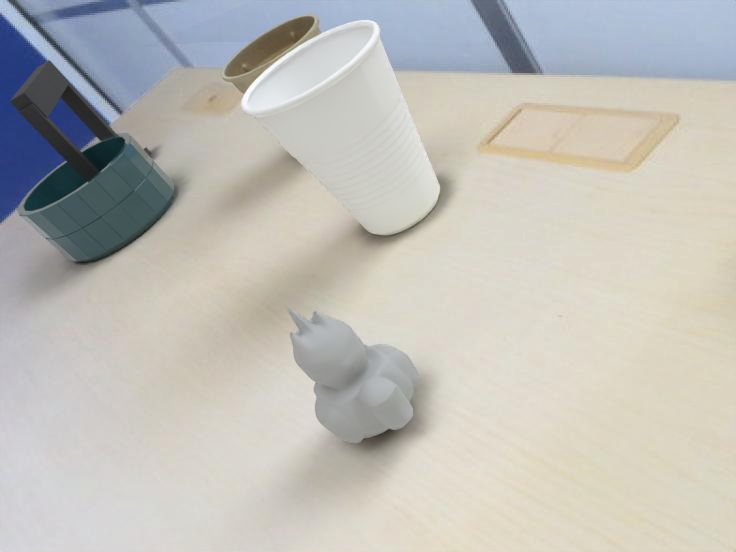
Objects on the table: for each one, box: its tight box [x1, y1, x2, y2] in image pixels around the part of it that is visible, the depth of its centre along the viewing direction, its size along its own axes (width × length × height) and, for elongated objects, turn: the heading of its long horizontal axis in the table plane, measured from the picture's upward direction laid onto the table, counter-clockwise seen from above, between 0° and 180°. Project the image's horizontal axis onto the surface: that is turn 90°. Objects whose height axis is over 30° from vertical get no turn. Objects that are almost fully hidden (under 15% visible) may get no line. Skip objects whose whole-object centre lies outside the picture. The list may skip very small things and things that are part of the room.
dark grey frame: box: [9, 59, 152, 182], centre depth 76 cm, size 20×5×12 cm, turn 24°
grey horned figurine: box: [285, 305, 420, 444], centre depth 37 cm, size 5×7×8 cm
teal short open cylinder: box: [16, 132, 175, 263], centre depth 73 cm, size 12×12×6 cm
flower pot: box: [220, 13, 323, 95], centre depth 65 cm, size 9×9×9 cm
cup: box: [240, 19, 441, 236], centre depth 50 cm, size 10×10×11 cm
